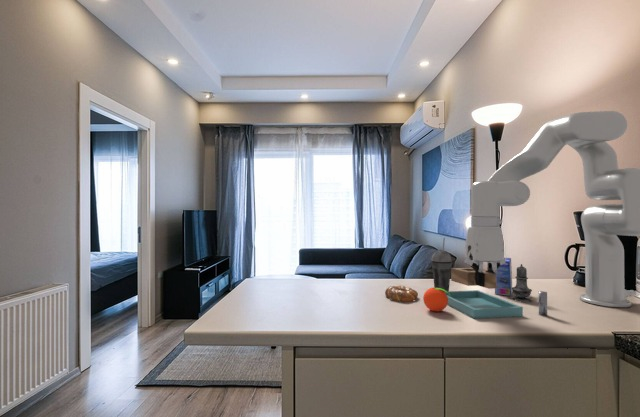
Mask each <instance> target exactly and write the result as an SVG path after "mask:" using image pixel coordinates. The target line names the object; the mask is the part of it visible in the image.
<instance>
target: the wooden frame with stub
mask: <svg viewBox="0 0 640 417" xmlns="http://www.w3.org/2000/svg"><path fill="white" fill-rule="evenodd" d="M486 271H488V270H487V269H484V268H483V273H484V286H479V285H477V284H476V281H475V271H474V270H473V268H472V267H451V272H450V281H451V282H455V283H459V284H461V285H464V286H468V287H469V286H470V287H471V286H478V287H483V288H485V289H489V290H490V289H491V290H493V289H494V290H495V288H497V276H496V274H493V273H488V272H486Z"/></svg>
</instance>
